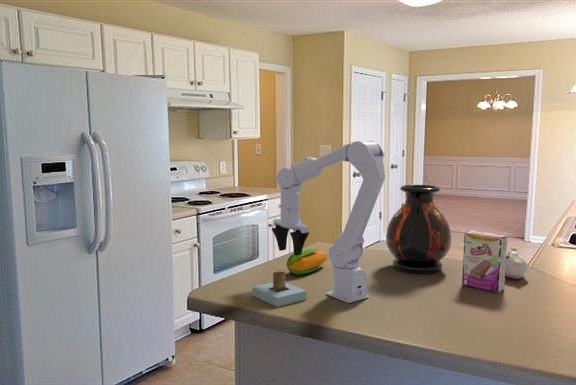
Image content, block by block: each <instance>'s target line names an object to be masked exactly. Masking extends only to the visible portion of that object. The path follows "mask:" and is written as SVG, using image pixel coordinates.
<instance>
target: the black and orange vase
mask: <svg viewBox="0 0 576 385" xmlns="http://www.w3.org/2000/svg"><path fill="white" fill-rule="evenodd" d="M399 189H400V191H401V192H404V193H405V198H406V200H405V202H404V203H403V205H402V206H401V207H400V208H399V209H397V211H396V212H395V213H394V214H393V215H392V217H391V219H390V221H389V223H388V225H387V227H386V228H387V229H386V233H385V244H386V245H387V248H388V251H389V252H390V254H392V255H393V257H394V259H393V261H392V265H393V266H394V268H396V269H397V270H400V271H402V272H406V273H412V274H433V273H436V272H437V273H438V272H439V271H441V270H442V269H443V262H442V261H441V260H443V259H444V258H445V257H446V256H447V254H449V252H450V249H451V247H452V231H451V227H450V225H449V222H448V220H447V218H446V216H445V215H444V214H443V213H442V212H441V211H440V209H438V207H437V206H436V204H435V203H434V197H435V196H434V195H435V194H436V193H439V192H440V190H441V188H440V187H438V186H437V185H430V184H429V185H428V184H405V185H402V186H400V187H399Z"/></svg>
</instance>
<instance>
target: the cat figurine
mask: <svg viewBox="0 0 576 385" xmlns="http://www.w3.org/2000/svg"><path fill="white" fill-rule="evenodd" d="M510 250H511V251H508V252H506V267H505V277H506V278H509V279H514V280H516V279H517V280H519V279H521V278H523V277H525V275H526V274H527V272H528V270H529V264H528V262H527V261H526V259H525V258H524V257H523V256H521V255H520V254H519V249H518V248H516V247H511V248H510Z"/></svg>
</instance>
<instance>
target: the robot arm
mask: <svg viewBox="0 0 576 385" xmlns="http://www.w3.org/2000/svg"><path fill="white" fill-rule="evenodd" d="M384 158H385V152H384V150H383V148H382V147H381V145H380V144H379V143H378V142H377V141H374V140H367V141H361V140H358V141H357V140H356V141H352V142H350V143H347V144H344V145H342V146H340V147H338V148H336V149H334V150H332V151H330V152H328V153H326V154H325V155H322V156H320V157H319V158H315V157H313V156H306V157H304V158H303V161H300V162H298V163H292V164H291V165H290V167H282V168H281V169H280V170H279V171H278V172H277V175H276V182H277V184H278V185H279V187H280V218H276V219H275V218H274V219H273V220H272V223H273V224H272V225H273V227H272V228H271V232H272V233H273V235H274V236H275V237H274V238H275V239H276V243H277V248H278V251H280V252H281V251H286V250H287V241H288V234H290V236H291V240H292V247H293V254H294V255H295V256H297V255H301V253H302V251H303V248H304V246H305V243H306V240H307V239H308V236H310V232H309V226H308V225H307V224H304V223H303V221H302V220H301V219H300V216H301V215H300V212H301V211H300V205H301V204H300V202H301V201H300V200H301V198H300V197H301V196H300V195H301V194H300V193H301V192H300V191H301V186H302V184H303V183H305V182H307V181H310V180H312V179H315V178H317V177H319V176H320V175H321V173H322V172H323V170H324V169H327V168H328V167H331V166H334V165H336V164H339V163H341V162H346V163H347V162H349V163H350V164H351V165H352V166H353V167H354V168H355V169H356V170H357V171H358V172H359V175H360V176H361V178H362V181H361V184H360V187H359V189H358V193H357V196H356V198H355V200H354V203H353V206H352V208H351V211H350V214H349V216H348V219H347V222H346V224H345V226H344V230H343V231H342V233H341V234H340V235H339V236H338V237H337V239H336V241H335V243H334V244H332V246H331V247H330V249H329V251H328V259H329V261H330V262H331V264H332V290H331V291H328V292H326V293H325V295H327V296H330V297H332V298H334V299H338V300H339V301H343V302H345V303H349V304H350V303H351V304H352V303H354V302H358V301H362V300H365V299H368V298H369V297H370V296H369V295H368V274H367V272H366V271H365V270H364V269H362V268H361V266H360V259H361V258H362V256H363V254H364V242H365V239H364V237H363V235H364V233H365V231H366V227H367V225H368V223H369V221H370V218H371V214H372V213H373V210H374V207H375V206H376V203H377V199H378V198H379V194H380V192H381V190H382V188H383V185H384V182H385V178H386V175H385V174H386V172H385V163H384ZM290 230H292V231H291V232H290V233H289V231H290Z"/></svg>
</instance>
